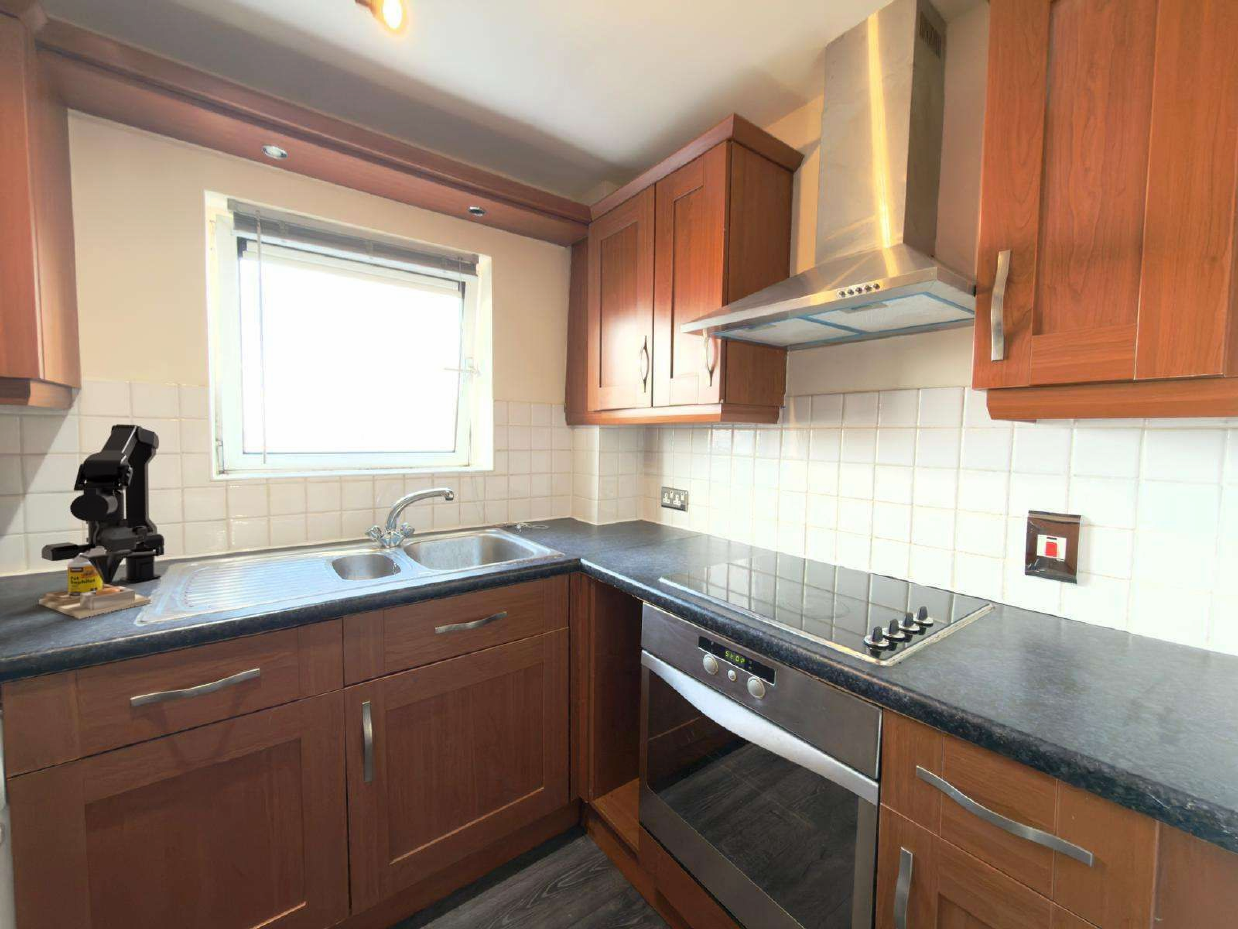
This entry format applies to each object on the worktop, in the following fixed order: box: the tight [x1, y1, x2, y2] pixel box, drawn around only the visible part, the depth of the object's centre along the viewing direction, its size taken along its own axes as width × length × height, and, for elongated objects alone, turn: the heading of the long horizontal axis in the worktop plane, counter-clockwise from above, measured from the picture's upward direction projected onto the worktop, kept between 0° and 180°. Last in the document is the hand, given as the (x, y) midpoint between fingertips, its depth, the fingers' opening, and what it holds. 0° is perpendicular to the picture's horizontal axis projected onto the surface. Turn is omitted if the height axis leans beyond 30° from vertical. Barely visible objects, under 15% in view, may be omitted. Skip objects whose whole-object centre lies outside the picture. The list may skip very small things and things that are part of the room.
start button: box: [96, 588, 120, 596], centre depth 114 cm, size 4×4×2 cm
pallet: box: [38, 582, 152, 620], centre depth 117 cm, size 20×12×4 cm, turn 65°
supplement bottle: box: [67, 553, 103, 598], centre depth 119 cm, size 6×6×10 cm
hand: (107, 583), depth 114 cm, fingers closed
